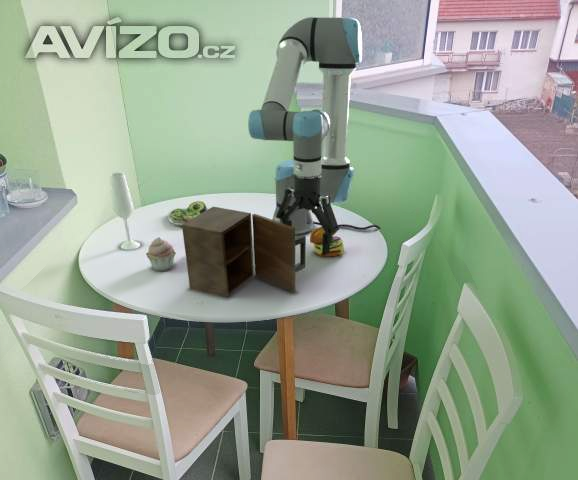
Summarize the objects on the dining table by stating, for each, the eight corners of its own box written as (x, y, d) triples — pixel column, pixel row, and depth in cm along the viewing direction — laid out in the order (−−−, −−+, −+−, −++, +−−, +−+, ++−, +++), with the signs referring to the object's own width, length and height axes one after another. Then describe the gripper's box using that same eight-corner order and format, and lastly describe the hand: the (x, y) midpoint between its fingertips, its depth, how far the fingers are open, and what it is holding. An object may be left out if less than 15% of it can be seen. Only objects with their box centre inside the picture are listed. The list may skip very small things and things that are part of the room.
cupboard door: (272, 268, 180) (270, 207, 168) (310, 284, 171) (311, 220, 159) (255, 276, 175) (252, 214, 164) (293, 293, 167) (292, 228, 155)
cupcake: (182, 268, 181) (179, 238, 175) (155, 276, 176) (150, 245, 170) (170, 258, 187) (165, 229, 181) (143, 265, 183) (138, 236, 177)
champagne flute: (120, 250, 192) (105, 178, 178) (120, 242, 198) (106, 172, 183) (140, 248, 193) (127, 177, 179) (140, 241, 199) (128, 170, 184)
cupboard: (254, 276, 176) (251, 213, 164) (227, 298, 165) (221, 232, 153) (218, 268, 181) (213, 206, 169) (189, 289, 169) (181, 224, 157)
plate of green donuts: (218, 228, 207) (217, 216, 205) (168, 232, 205) (167, 219, 202) (214, 210, 223) (213, 198, 220) (168, 213, 220) (166, 201, 217)
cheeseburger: (340, 260, 184) (334, 231, 179) (310, 263, 189) (303, 234, 183) (348, 247, 192) (342, 219, 186) (319, 250, 196) (312, 223, 191)
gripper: (262, 170, 158) (265, 242, 171) (338, 187, 146) (335, 263, 159) (279, 163, 162) (280, 234, 175) (353, 179, 150) (349, 254, 163)
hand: (306, 248), depth 167 cm, fingers open, 13 cm apart
